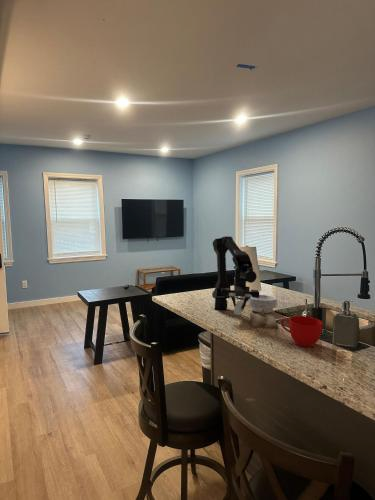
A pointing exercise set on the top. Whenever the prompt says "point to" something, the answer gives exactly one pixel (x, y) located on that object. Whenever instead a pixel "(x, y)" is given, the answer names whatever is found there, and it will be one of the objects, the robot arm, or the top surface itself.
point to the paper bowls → (263, 303)
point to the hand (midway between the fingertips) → (239, 309)
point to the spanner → (238, 307)
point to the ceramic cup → (304, 330)
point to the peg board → (259, 321)
